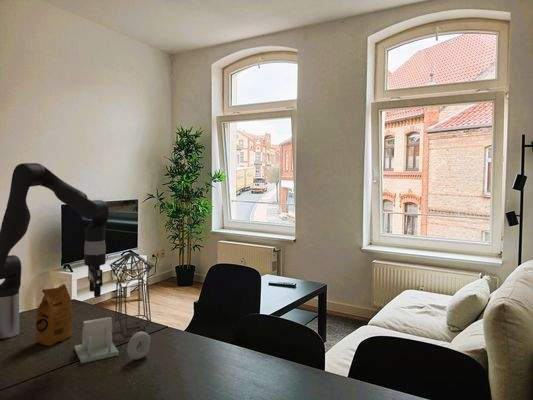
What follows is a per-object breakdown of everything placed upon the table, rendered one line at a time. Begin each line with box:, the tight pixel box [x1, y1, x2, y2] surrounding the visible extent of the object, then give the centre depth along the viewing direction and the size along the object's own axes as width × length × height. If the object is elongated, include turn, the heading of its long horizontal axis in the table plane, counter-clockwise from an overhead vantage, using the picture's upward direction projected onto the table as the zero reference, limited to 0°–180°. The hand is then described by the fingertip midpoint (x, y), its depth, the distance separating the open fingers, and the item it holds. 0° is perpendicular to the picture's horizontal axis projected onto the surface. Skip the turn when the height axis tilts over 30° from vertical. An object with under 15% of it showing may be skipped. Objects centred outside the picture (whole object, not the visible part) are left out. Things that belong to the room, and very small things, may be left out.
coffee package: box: [35, 283, 73, 347], centre depth 165 cm, size 10×12×22 cm
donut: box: [126, 330, 151, 361], centre depth 149 cm, size 10×4×10 cm, turn 150°
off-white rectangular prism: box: [83, 316, 113, 349], centre depth 156 cm, size 2×10×10 cm, turn 124°
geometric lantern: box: [109, 252, 155, 337], centre depth 174 cm, size 16×16×35 cm
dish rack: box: [74, 326, 120, 364], centre depth 154 cm, size 14×13×8 cm
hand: (94, 294), depth 155 cm, fingers open, 8 cm apart
